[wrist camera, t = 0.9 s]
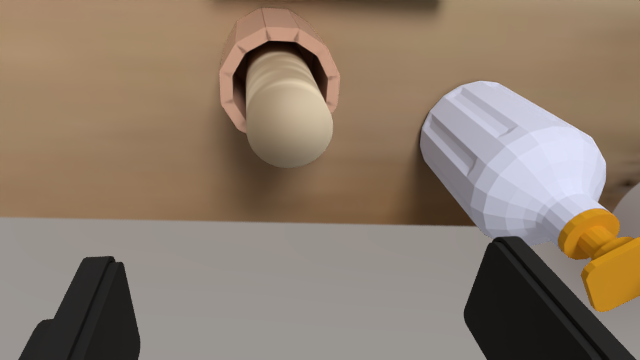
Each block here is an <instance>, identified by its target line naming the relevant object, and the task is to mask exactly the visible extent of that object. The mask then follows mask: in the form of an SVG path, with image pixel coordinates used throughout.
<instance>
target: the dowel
mask: <svg viewBox="0 0 640 360" xmlns="http://www.w3.org/2000/svg"><path fill="white" fill-rule="evenodd" d="M246 131H247V138H248V141H249V144H250V146H251V148H252V150H253V151H254V152H255V154H256V155H257V156H258V157H259V158H261V159H262V160H263V161H265V162H267V163H268V164H271V165H273V166H277V167H282V168H295V167H300V166H304V165H306V164H308V163H310V162H312V161H314V160H315V159H317V158H318V157H319V156H320V155H321V154H322V153H323V152H324V151H325V150H326V148H327V146H328V145H329V142H330V140H331V137H332V133H333V120H332V116H331V113H330V111H329V109H328V107H327V105H326V103H325V101H324V99H323V97H322V94H321V92H320V90H319V88H318V86H317V84H316V82H315V80H314V78H313V76H312V74H311V72H310V70H309V68H308V66H307V64H306V62H305V59H304V57H303V55H302V53H301V51H300V49H299V47H298V46H297V44H296V43H295V42H293V41H272V40H269V41H267V42H265V43H263V44H261V45H259V46H258V47H256V48H254V49H252V50H250V51H248V52H247V55H246Z"/></svg>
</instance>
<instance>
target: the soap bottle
mask: <svg viewBox="0 0 640 360" xmlns="http://www.w3.org/2000/svg"><path fill="white" fill-rule="evenodd" d="M420 148H421V151H422V155H423V158H424V161H425V162H426V163H427V165H428V166H429V167H430V168H431V170H432V171H433V172H434V173H435V175H436V176H437V177H438V178H439V179H440V181H441V182H442V183H443V184H444V186H445V187H446V188H447V189H448V191H449V192H450V193H451V194H452V196H453V197H454V198H455V199H456V201H457V202H458V203H459V204H460V206H461V207H462V208H463V209H464V211H465V212H466V213H467V214H468V216H469V217H470V218H471V219H472V221H473V222H474V223H475V224H476V225H477V226H478V228H479V229H480V230H481V231H482V232H483V233H484V234H485V235H486V236H489V237H491V238H493V239H495V238H496V237H504V236H518V237H520V238H521V239H523V240H524V241H525V242H526V244H527V245H528V246H532V245H537V244H541V243H545V242H549V241H552V242H553V243H554V244H555V245H556V246H557V247H558V248H559V249H560V250H561V251H563V252H564V253H565V254H566V255H567V256H568V257H570V258H572V259H575V260H578V259H587V258H589V257H590V258H592V260H591V261H590V263H589V264H588V265H587V266H585V268H584V269H583V271H582V273H581V277H582V280H583V283H584V286H585V289H586V292H587V295H588V298H589V301H590V304H591V306H592V307H593V308H594V309H595V310H596V311H599V312H605V311H609V310H611V309H613V308H615V307H617V306H619V305H621V304H624V303H625V302H628V301H630V300H632V299H634V298H636V297H638V296H640V237H638V238H636V239H634V238H632V237H622V238H617V237H616V236H617V234H618V232H619V225H620V223H619V221H618V219H617V218H616V217H615V216H614V215H613V214H611V213H610V212H609V211H608V210H607V209H605V208H604V207H603V206H601V205H600V204H599V203H597V202H598V200H599V197H600V195H601V193H602V190H603V187H604V184H605V181H606V162H605V160H604V158H603V156H602V155H601V153H600V151H599V149H598V147H597V145H596V144H595V142H594V140H593V139H592V137H590V136H589V135H587V134H585V133H584V132H582V131H580V130H579V129H577V128H575V127H573V126H572V125H570V124H568V123H567V122H565V121H563V120H561V119H560V118H558V117H556V116H554V115H553V114H551V113H549V112H547V111H546V110H544V109H542V108H541V107H539V106H537V105H535V104H534V103H532V102H530V101H528V100H527V99H525V98H523V97H521V96H520V95H518V94H516V93H515V92H513V91H511V90H509V89H508V88H506V87H504V86H502V85H501V84H499V83H496V82H487V81H477V82H473V83H469V84H465V85H461V86H459V87H457V88H456V89H454V90H452V91H451V92H449V93H447V94H446V95H444V96H443V97H442V98H441V99H440V100H439V101H438V102H437V103H436V105H435V106H434V107H433V108H432V109H431V110H430V111H429V114H428V116H427V118H426V120H425V122H424V124H423V126H422V131H421V140H420Z"/></svg>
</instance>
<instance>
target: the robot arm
mask: <svg viewBox="0 0 640 360" xmlns="http://www.w3.org/2000/svg"><path fill="white" fill-rule="evenodd" d="M464 319H465V323H466V325H467V326H468V328H469V330H470V331H471V333H472V335H473V337H474V338H475V340H476V342H477V343H478V345H479V347H480V349H481V350H482V352H483V354H484V355H485V357H486V359H487V360H636V359H635V358H634V357H633V356H632V355H631V354H630V353H629V352H628V351H627V349H626V348H625V347H624V346H623V345H622V344H621V343H620V342H619V341H618V340H617V339H616V338H615V337H614V336H613V335H612V334H611V332H610V331H609V330H608V329H607V328H606V327H605V326H604V325H603V324H602V323H601V322H600V321H599V320H598V319H597V318H596V317H595V316H594V314H593V313H592V312H591V311H590V310H588V308H587V307H586V306H585V305H584V304H583V303H582V302H581V301H580V300H579V299H578V298H577V297H576V295H575V294H574V293H573V292H572V291H571V290H570V289H569V288H568V287H567V286H566V285H565V284H564V283H563V282H562V281H561V280H560V278H559V277H558V276H557V275H556V274H555V273H554V272H553V271H552V270H551V269H550V268H549V267H548V266H547V265H546V264H545V263H544V262H543V260H542V259H541V258H540V257H539V256H538V255H537V254H536V253H535V252H534V251H533V250H532V249H531V248H530V247H529V246H528V245H527V244H526V242H525V241H524V240H523V239H521V238H520V237H518V236H504V237H496V238H495V239H494V240H493V241H492V243H489V245H488V246H487V249H486V251H485V254H484V257H483V260H482V263H481V265H480V268H479V271H478V274H477V276H476V279H475V282H474V284H473V287H472V290H471V293H470V296H469V298H468V301H467V304H466V306H465V309H464ZM139 353H140V336H139V332H138V327H137V323H136V318H135V313H134V309H133V304H132V300H131V295H130V291H129V287H128V282H127V278H126V273H125V268H124V264H123V263H122V262H115V259H114V257H112V256H105V257H86V258H84V259H83V260H82V262H81V264H80V266H79V268H78V270H77V272H76V274H75V276H74V278H73V280H72V282H71V284H70V286H69V288H68V290H67V292H66V294H65V296H64V298H63V301H62V302H61V305H60V307H59V309H58V311H57V313H56V315H55V317H54V319H49V320H48V319H47V320H43V321H41V322H40V323H39V324H38V325H37V327H36V328H35V329H34V331H33V333H32V335H31V337H30V339H29V341H28V342H27V344H26V346H25V348H24V350H23V352H22V354H21V356H20V358H19V359H18V360H138V357H139Z"/></svg>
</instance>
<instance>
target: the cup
mask: <svg viewBox="0 0 640 360" xmlns="http://www.w3.org/2000/svg"><path fill="white" fill-rule="evenodd" d="M269 40H272V41H293V42H295V43H296V44H297V46H298V47H299V49H300V51H301V53H302V55H303V57H304V59H305V62H306V64H307V66H308V68H309V70H310V72H311V74H312V76H313V78H314V80H315V82H316V84H317V86H318V88H319V90H320V92H321V94H322V97H323V99H324V101H325V103H326V105H327V107H328V109H329V111H330V113H331V114H332V113H333V111H334V110H335V108H336V107H337V102H338V93H339V83H340V74H339V72H338V70H337V68H336V65H335V63H334V61H333V59H332V57H331V54H330V52H329V50H328V48H327V46H326V45H325V44H324V42H323V41H322V40H321V38H320V37H319V36H318V34H317V33H316V32H315V30H314V29H313V28H312V26H311V25H310V24H309V23H307V22H306V21H305V20H303V19H302V18H300V17H299V16H297V15H296V14H295V13H293V12H292V11H290V10H289V9H280V8H264V7H261V8H259V9H257V10H255V11H254V12H252V13H250V14H248V15H246V16H244V17H243V18H241V19H239V20H238V21H237V22H236V24H235V26H234V28H233V29H232V31H231V33H230V35H229V37H228V39H227V40H226V42H225V45H224V50H223V56H222V61H221V66H220V72H219V76H220V96H221V105H222V106H223V108H224V109H225V111H226V112H227V114H228V115H229V117H230V118H231V120H232V121H233V123H234V124H235V126H236V127H237V129H238V130H240V131H242V132H244V133H246V134H247V131H246V55H247V52H248V51H250V50H252V49H254V48H256V47H258V46H259V45H261V44H263V43H265V42H267V41H269Z"/></svg>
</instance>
